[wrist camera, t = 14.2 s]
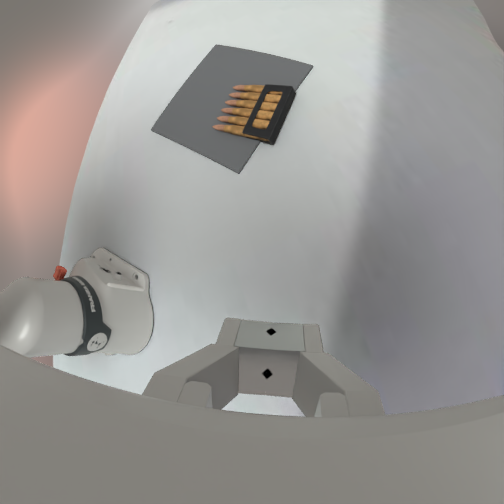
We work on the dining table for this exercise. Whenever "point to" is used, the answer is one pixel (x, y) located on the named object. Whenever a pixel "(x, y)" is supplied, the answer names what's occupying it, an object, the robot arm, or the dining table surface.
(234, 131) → the ammunition clip
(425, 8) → the dining table surface
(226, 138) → the slate mat
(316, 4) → the dining table surface
